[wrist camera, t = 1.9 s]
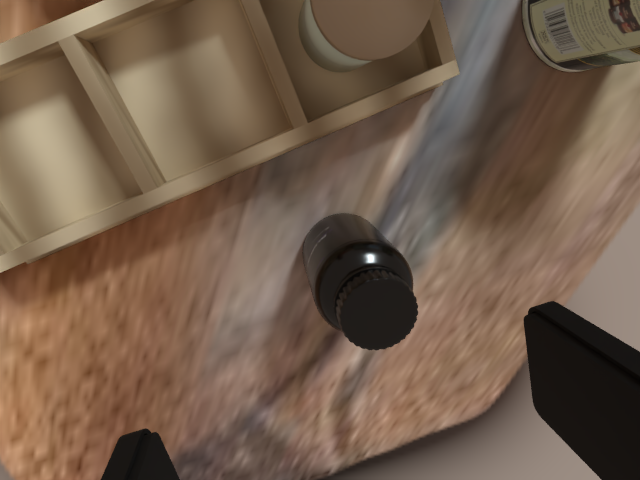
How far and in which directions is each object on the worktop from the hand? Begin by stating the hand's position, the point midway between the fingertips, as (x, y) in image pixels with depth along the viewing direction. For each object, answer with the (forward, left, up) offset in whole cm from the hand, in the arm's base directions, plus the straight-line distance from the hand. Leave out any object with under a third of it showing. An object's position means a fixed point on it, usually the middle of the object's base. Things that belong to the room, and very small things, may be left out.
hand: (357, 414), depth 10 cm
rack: (+2, -11, -25) cm, 27 cm away
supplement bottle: (-3, +5, -25) cm, 26 cm away
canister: (-9, -11, -24) cm, 27 cm away
